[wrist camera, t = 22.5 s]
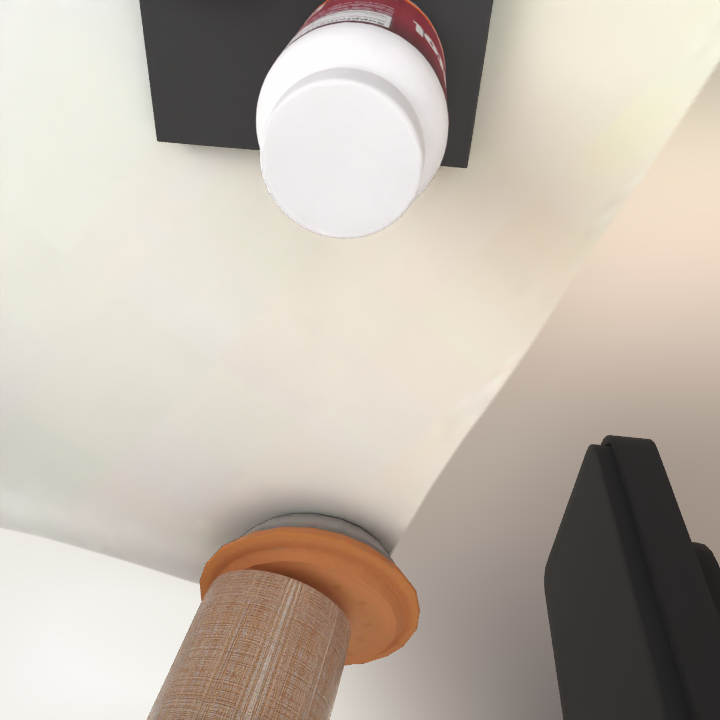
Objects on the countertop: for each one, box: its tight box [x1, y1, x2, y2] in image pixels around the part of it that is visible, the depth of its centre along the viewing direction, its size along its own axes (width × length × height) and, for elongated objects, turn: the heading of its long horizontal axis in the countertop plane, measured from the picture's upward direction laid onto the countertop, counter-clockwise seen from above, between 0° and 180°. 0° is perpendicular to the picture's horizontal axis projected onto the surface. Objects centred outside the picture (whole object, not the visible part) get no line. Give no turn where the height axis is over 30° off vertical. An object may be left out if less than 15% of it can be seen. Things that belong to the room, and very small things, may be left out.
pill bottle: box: [256, 0, 449, 239], centre depth 24 cm, size 6×6×11 cm
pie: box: [200, 513, 420, 665], centre depth 48 cm, size 16×16×5 cm
